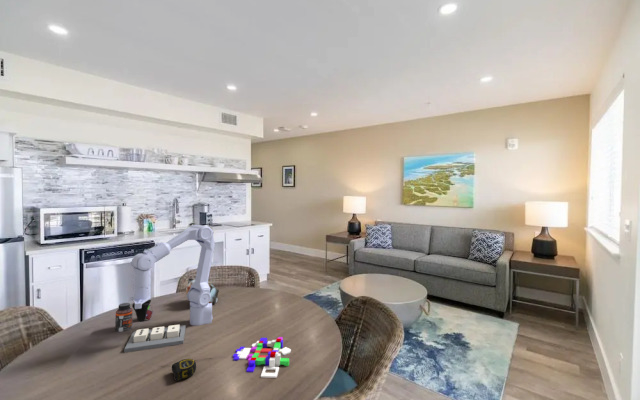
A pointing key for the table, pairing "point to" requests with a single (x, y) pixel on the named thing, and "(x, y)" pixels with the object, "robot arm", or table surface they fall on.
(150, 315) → the geometric puzzle
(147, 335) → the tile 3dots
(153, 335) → the tile
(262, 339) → the building block set
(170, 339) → the keypad board
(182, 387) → the table surface
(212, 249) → the robot arm
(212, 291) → the lucky cat figurine
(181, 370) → the tape measure
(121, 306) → the supplement bottle
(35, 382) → the table surface
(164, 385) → the table surface
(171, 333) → the tile
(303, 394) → the table surface
